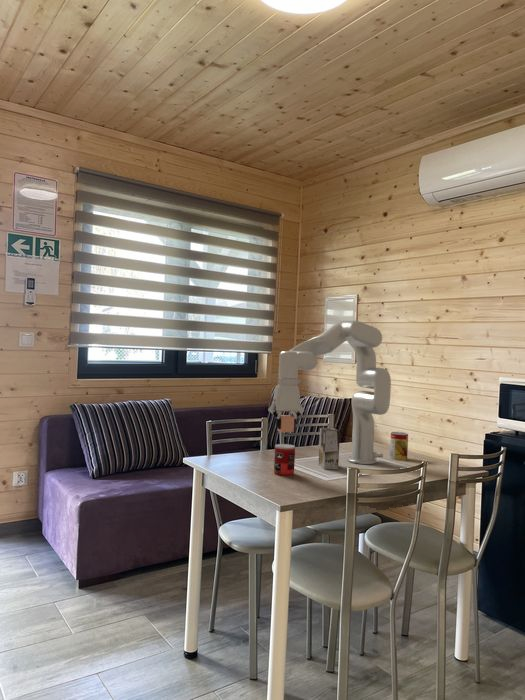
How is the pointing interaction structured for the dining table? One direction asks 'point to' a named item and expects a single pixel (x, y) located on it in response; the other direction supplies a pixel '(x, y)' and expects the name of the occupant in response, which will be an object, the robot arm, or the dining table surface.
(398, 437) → the canned food
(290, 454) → the canned food
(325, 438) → the coffee box
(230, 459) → the dining table surface
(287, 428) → the block
